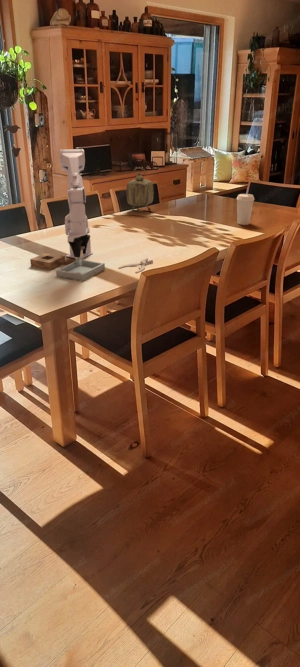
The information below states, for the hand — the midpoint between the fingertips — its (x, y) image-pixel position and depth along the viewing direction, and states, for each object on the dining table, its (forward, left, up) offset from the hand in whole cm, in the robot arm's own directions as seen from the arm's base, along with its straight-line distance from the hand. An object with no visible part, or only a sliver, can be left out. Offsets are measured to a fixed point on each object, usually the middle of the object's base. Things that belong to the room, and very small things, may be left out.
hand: (80, 255), depth 195 cm
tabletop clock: (-109, -34, -8) cm, 114 cm away
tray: (0, 0, -7) cm, 7 cm away
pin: (0, -1, -4) cm, 4 cm away
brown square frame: (-2, -18, -7) cm, 20 cm away
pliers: (-18, +16, -8) cm, 26 cm away
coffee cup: (-109, +31, -7) cm, 114 cm away
